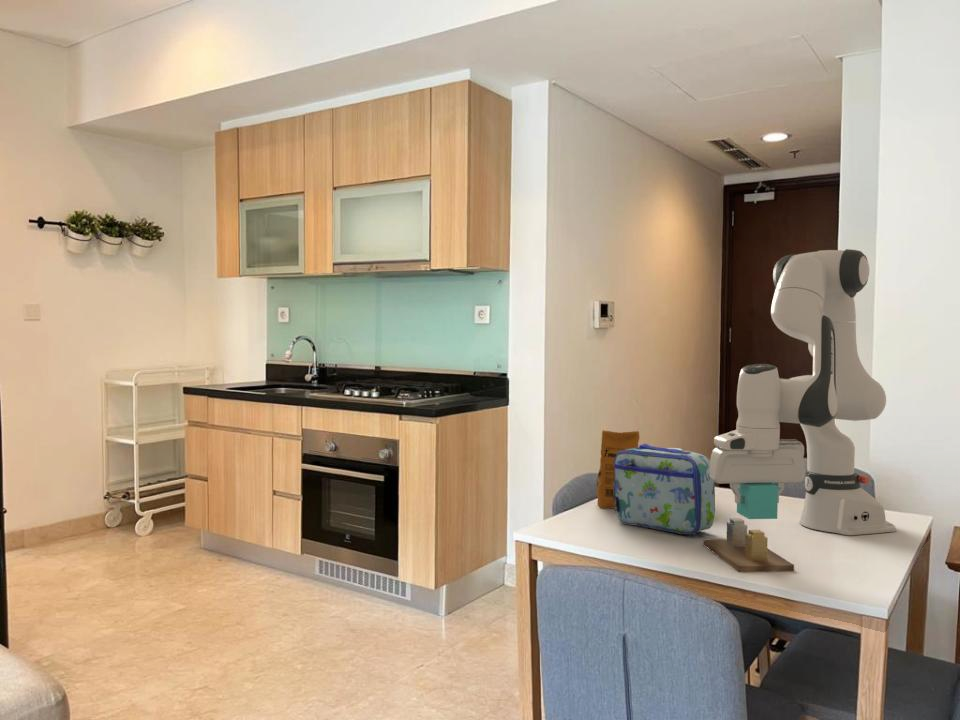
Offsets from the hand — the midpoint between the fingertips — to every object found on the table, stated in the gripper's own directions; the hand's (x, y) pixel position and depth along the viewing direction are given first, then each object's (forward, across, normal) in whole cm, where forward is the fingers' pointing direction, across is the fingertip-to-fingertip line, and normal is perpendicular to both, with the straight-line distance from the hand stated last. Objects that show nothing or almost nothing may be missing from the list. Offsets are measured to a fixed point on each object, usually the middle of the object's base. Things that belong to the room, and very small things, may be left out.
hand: (756, 503), depth 160 cm
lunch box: (+14, +11, -31) cm, 36 cm away
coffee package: (+14, +16, -55) cm, 59 cm away
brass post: (+12, 0, 0) cm, 12 cm away
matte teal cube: (+3, 0, 0) cm, 3 cm away
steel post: (+12, 0, -10) cm, 16 cm away
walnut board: (+13, 0, -5) cm, 14 cm away
